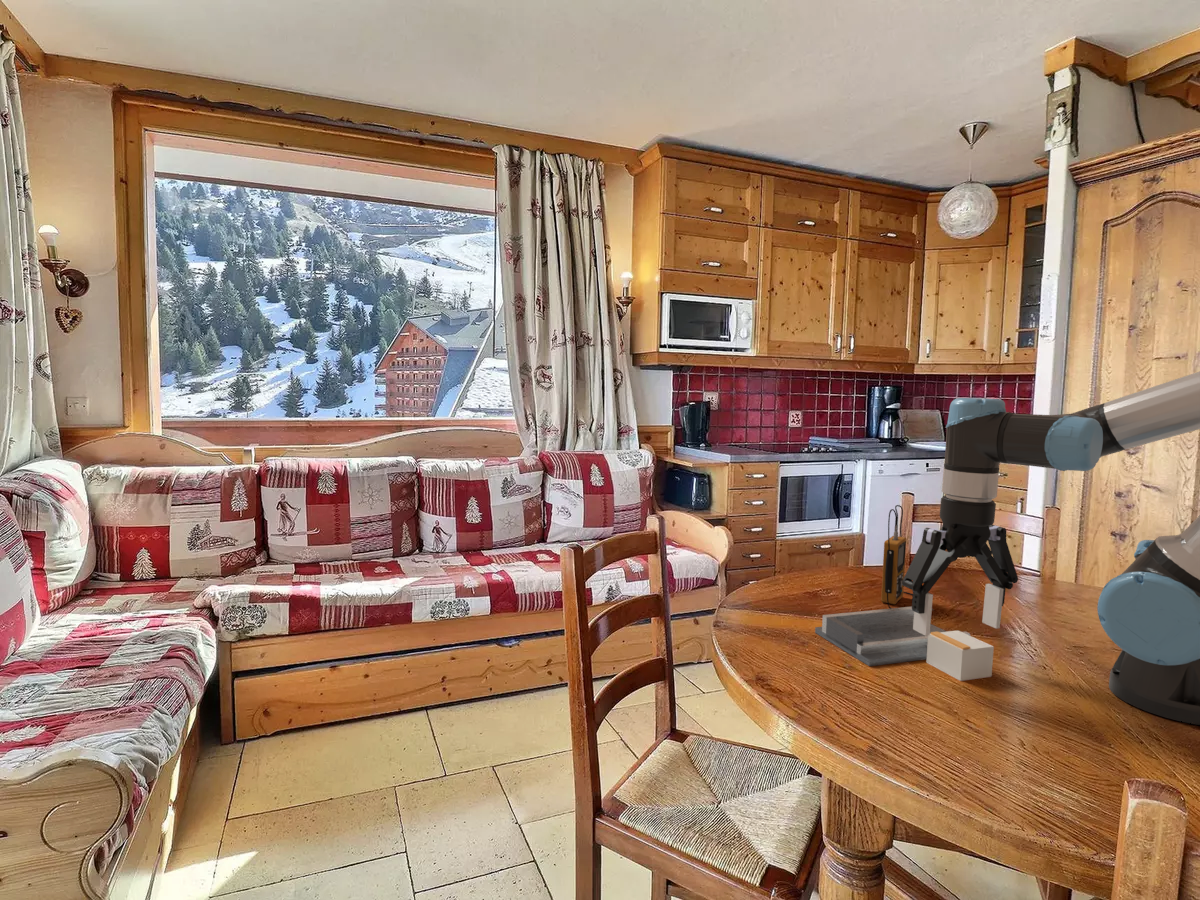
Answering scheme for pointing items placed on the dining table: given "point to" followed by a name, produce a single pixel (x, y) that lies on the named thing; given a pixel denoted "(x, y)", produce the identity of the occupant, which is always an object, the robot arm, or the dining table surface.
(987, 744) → the dining table surface
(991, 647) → the block
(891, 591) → the multimeter
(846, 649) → the rail base
